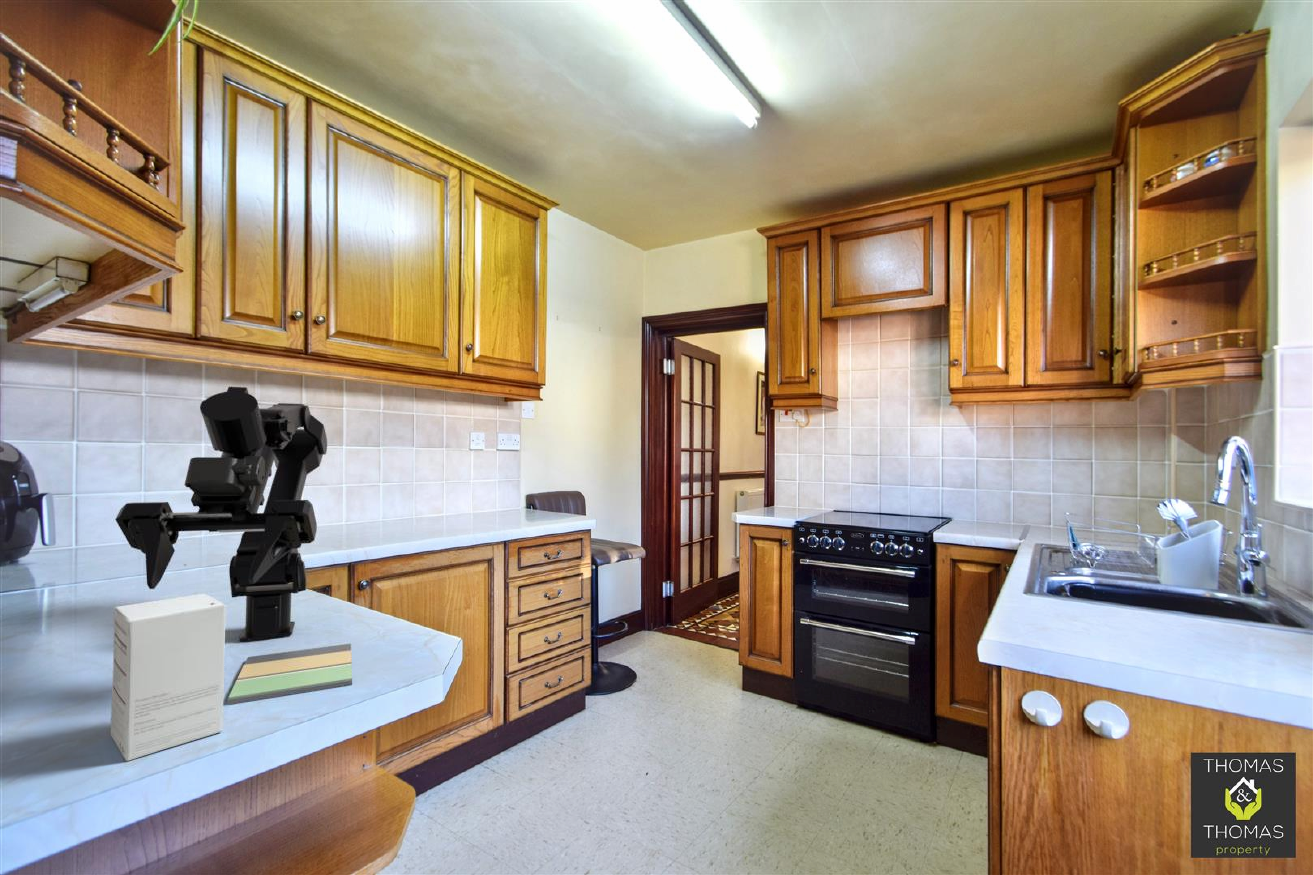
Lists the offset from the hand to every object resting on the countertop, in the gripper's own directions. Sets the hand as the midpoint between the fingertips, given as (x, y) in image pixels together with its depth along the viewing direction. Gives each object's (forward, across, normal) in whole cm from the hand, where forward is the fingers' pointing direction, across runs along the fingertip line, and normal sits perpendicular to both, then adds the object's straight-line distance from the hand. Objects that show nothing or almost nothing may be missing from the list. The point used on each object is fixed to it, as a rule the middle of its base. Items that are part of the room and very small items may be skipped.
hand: (202, 584), depth 63 cm
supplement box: (+14, 0, +4) cm, 15 cm away
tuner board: (+4, +8, +14) cm, 17 cm away
